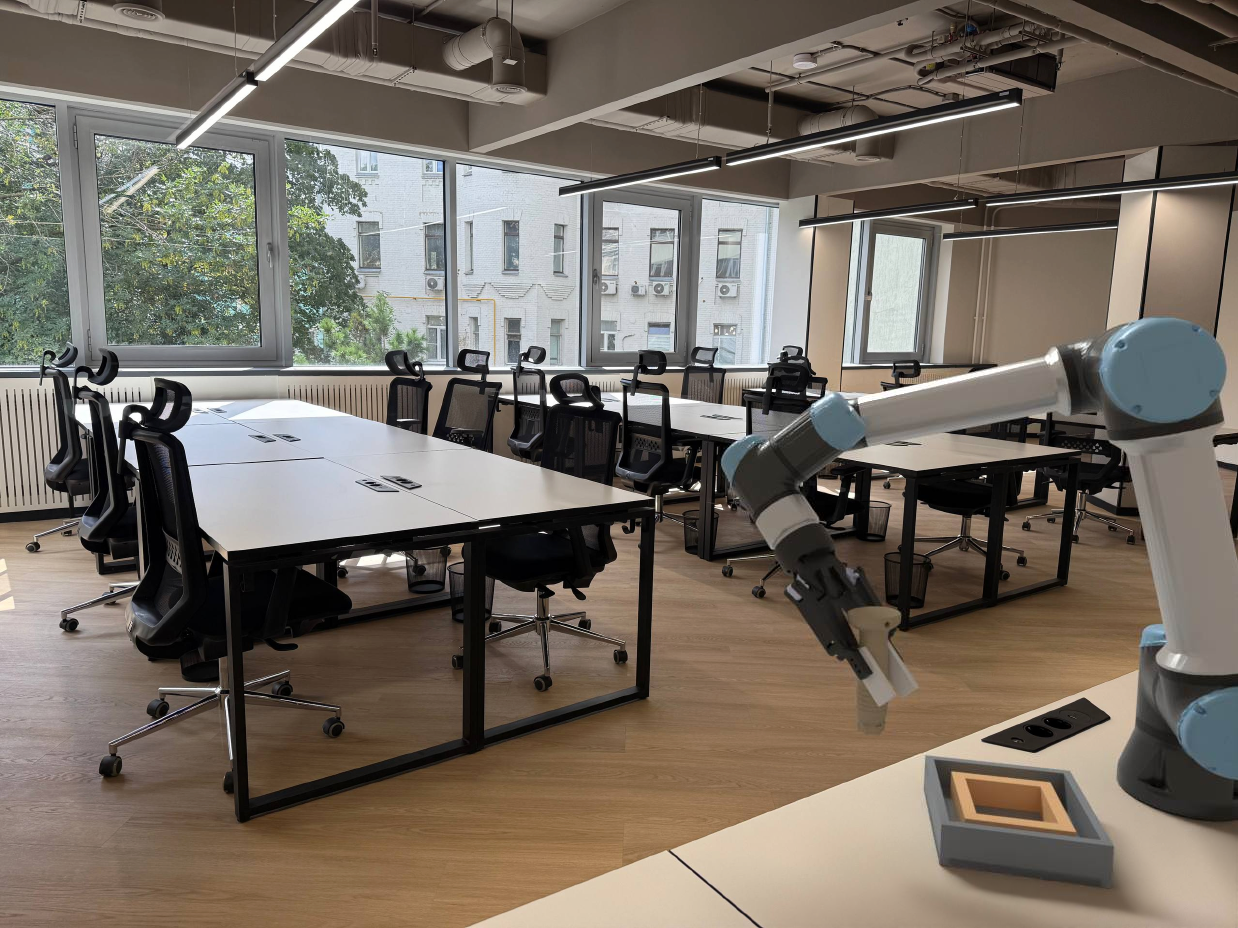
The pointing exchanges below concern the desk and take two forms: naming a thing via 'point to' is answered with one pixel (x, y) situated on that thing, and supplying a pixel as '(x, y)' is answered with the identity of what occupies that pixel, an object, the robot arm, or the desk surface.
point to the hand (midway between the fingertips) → (898, 696)
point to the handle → (875, 638)
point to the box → (1015, 821)
